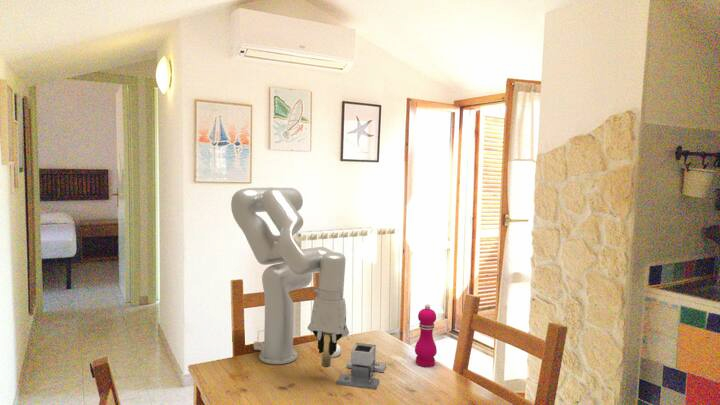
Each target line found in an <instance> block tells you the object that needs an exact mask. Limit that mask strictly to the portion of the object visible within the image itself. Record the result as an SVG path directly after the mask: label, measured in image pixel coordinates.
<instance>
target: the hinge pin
mask: <svg viewBox="0 0 720 405" xmlns="http://www.w3.org/2000/svg"><path fill="white" fill-rule="evenodd" d="M331 341H332V334H331V333H325V332H323V347H322V353H321V363H320V365H321V367H323V368H330V367H331V364H332V362H331V361H332V357H331V355H330V343H331Z"/></svg>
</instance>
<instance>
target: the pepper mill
mask: <svg viewBox="0 0 720 405" xmlns="http://www.w3.org/2000/svg"><path fill="white" fill-rule="evenodd" d="M417 319H418V321H419V323H418V324H419V325H418V328H419V330H420V333H419V334H420V335H419V338H418V339H417V342H416V344H415V347H414V352H415V353H414V354H415V355H416V356H415V364H416V365H417V366H419V367H424V368H428V367H429V368H430V367H433V366H434V365H436V364H435V363H436V362H435V361H436V359H435V356H436V355H437V345H436V342H435V341H434V337H433V332H434V329H435V322H436V321H437V313H436V312H435V310H433V309H432V308H431V305H430V304H428V303H427V304H425V305H424V308H421V310H419V312H418V314H417Z"/></svg>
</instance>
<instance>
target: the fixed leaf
mask: <svg viewBox="0 0 720 405" xmlns="http://www.w3.org/2000/svg"><path fill="white" fill-rule="evenodd" d="M373 369H374V361H373V363H372V365H371V366H364V365H356V364H352V368H351V371H350V372H351V373H350V374H344V373H340V374H339V376H338V377H337V380H336V385H342V386H348V387H356V388H364V389H371V390H377V388H378V386H379V384H380V378H375V377H373V374H374V371H373Z"/></svg>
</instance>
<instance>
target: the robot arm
mask: <svg viewBox="0 0 720 405" xmlns="http://www.w3.org/2000/svg"><path fill="white" fill-rule="evenodd" d="M303 203H304V200H303V196H302V194H301V192H300V191H299V190H297V189H296V188H294V187H247V188H241V189H239V190H237V191H236V192H235V193H234V194H233V196H232V197H231V203H230V206H231V208H230V209H231V213H232V216H233V219H234V221H235V222H236V224H237V226H238V227H239V228H240V229H241V232H242V233H243V234H244V236H245V239H246V241H247V243H248V245H249V246H250V247H249V248H250V250H251V251H252V253H253V255H254V257H255V259H256V260H257V262H258V263H259V264H260V265H263V266H265V265H266V266H267V265H268V267H267V268H266V269H264V270H263V272H262V276H261V283H262V288H263V293H264V295H263V296H264V332H263V333H264V334H263V335H264V338H263V342H262V341H261V342H260V341H254V343H253V350H254V351H260V353H259V355H258V356H259V360H260V361H261V362H263V363H265V364H269V365H284V364H290V363H292V362H294V361H296V359H297V358H298V352H297V350H296V349H294V319H295V318H294V316H295V315H294V310H295V309H294V308H295V306H294V302H293V299H292V298H291V296H290V292H292V291H294V290H295V291H296V290H300V289H303V288H306V287H308V286H309V285H310V284H311V281H312V280H313V274H314V273H319V275H318V287H314V288H313V293H316V294H317V295H316V296H315V297H314V300H313V304H312V305H313V306H312V310H311V317H310V323H309V324H308V326H307V330H308V331H310V332H311V333H313V335H314V336H315V337H316V340H317V350H318V354H322V347H323V332H325V333H331V334H332V341H331V343H330V355H333V353H334V352H336V348H337V344H338V341H339V340H340V339H342V338H344V337H347V336H349V335H350V330H349V329H348V326H347V307H346V306H347V305H346V299H345V298H344V287H345V286H344V285H345V273H346V257H345V255H344V254H343V253H340V252H335V251H332V249H331V250H330V249H329V248H327V247H325V246H318V247H317V246H316V247H310V248H303V249H301V247H300V245H299V243H298V241H297V240H296V239H295V237H293V236H294V235H296V234H297V233H298V232H299V231H300V230H301V229H302V227H303V225H304V219H303V217H302V216H301V214H300V212H299V210H301V209H302V207H303V205H304V204H303ZM264 212H265V213H266V214H267V215H268V217H269V219H270V220H271V222H272V223H273V224H274V226H275V227H276V229H277V230H278V232H279V234H278V235H275V234H273V232H272V231H271V229H270V227H269V224H268V223H267V222H266V221H265V219H264V218H262V217H261V216H259V215H258V214H257V213H264Z"/></svg>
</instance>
